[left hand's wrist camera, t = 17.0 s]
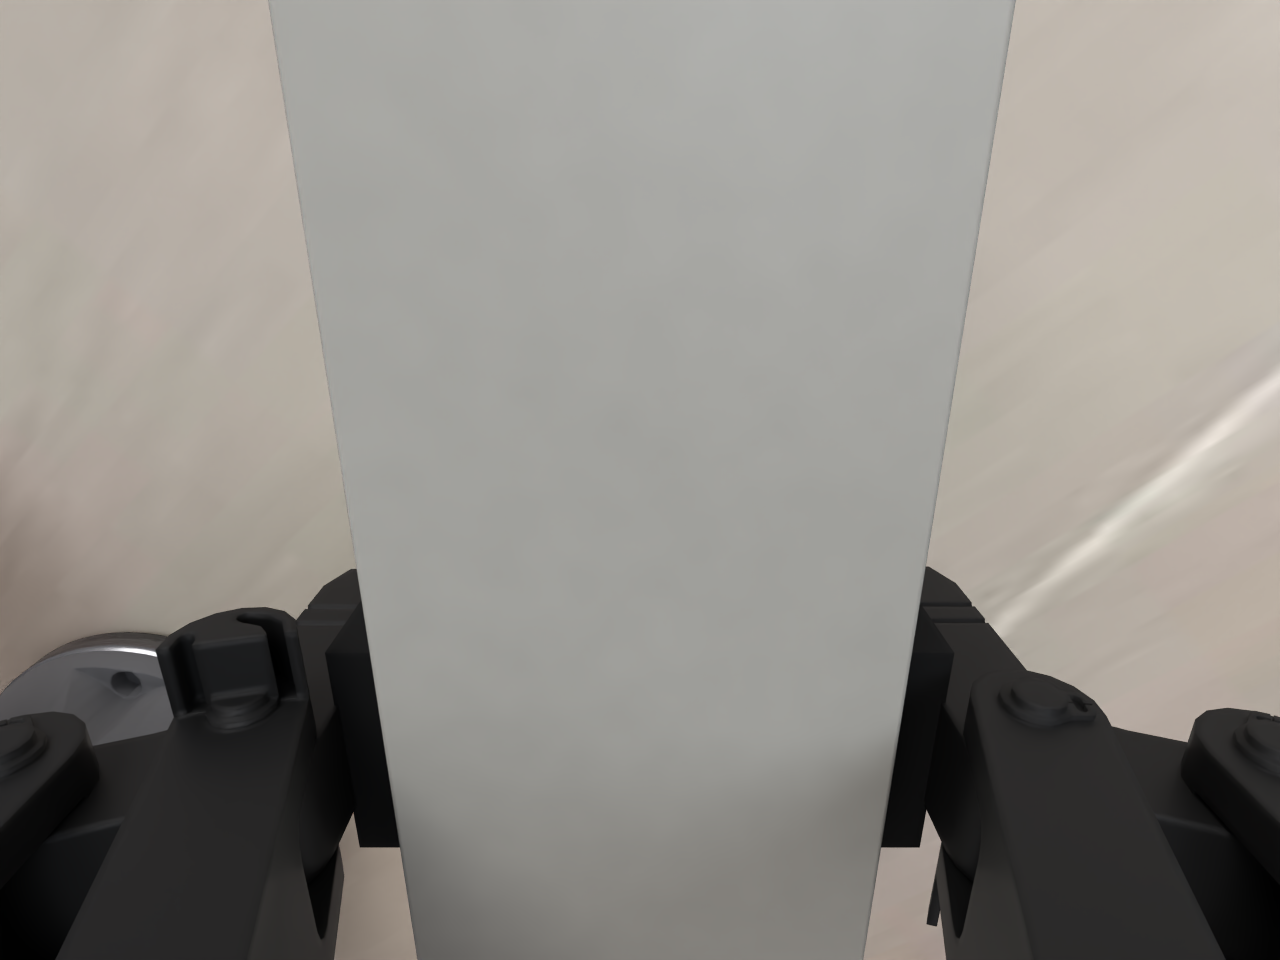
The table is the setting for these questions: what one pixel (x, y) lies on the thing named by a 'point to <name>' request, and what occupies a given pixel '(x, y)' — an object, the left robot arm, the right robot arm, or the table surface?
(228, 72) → the table surface
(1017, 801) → the left robot arm
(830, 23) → the bar
